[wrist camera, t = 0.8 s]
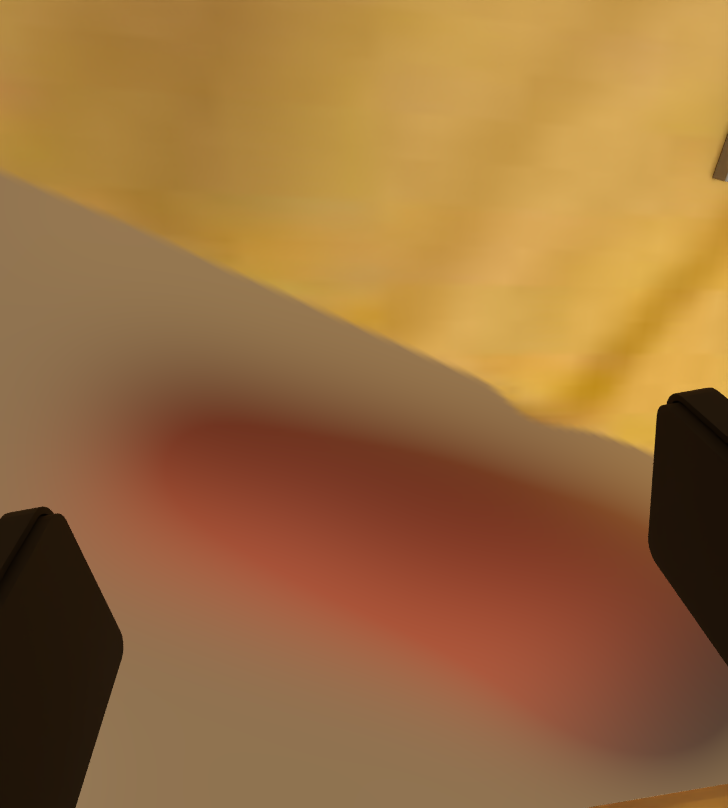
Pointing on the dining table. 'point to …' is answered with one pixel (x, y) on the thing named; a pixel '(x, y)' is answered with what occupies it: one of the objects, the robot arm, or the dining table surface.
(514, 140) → the dining table surface
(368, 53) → the dining table surface
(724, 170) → the shaft block
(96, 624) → the robot arm
